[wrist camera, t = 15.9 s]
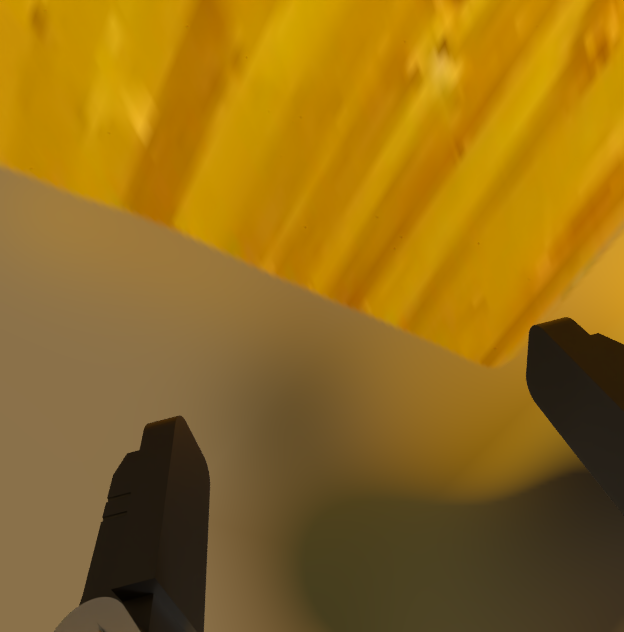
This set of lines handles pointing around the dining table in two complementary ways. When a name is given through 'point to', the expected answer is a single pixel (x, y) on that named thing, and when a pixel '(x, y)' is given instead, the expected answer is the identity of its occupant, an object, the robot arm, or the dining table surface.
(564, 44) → the dining table surface
